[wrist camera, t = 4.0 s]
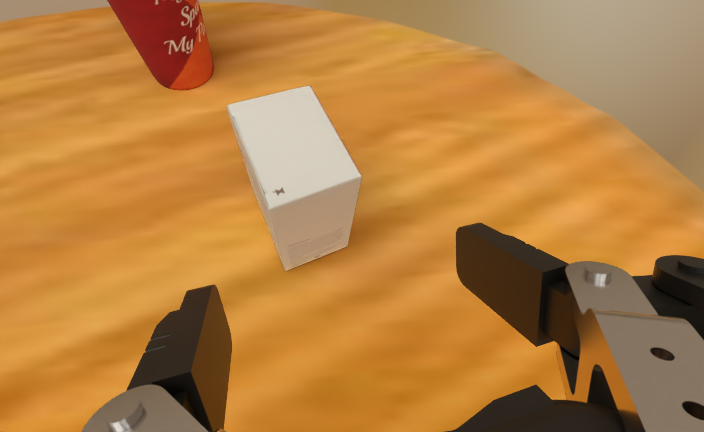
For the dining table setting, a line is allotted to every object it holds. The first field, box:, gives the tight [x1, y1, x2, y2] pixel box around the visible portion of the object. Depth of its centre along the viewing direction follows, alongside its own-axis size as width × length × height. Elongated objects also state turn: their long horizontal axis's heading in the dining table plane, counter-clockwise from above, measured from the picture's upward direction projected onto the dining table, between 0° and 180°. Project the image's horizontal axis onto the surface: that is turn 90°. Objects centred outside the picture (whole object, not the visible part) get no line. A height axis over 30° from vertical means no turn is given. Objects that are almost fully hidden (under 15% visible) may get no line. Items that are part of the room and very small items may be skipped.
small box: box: [227, 86, 362, 271], centre depth 24 cm, size 8×6×10 cm
